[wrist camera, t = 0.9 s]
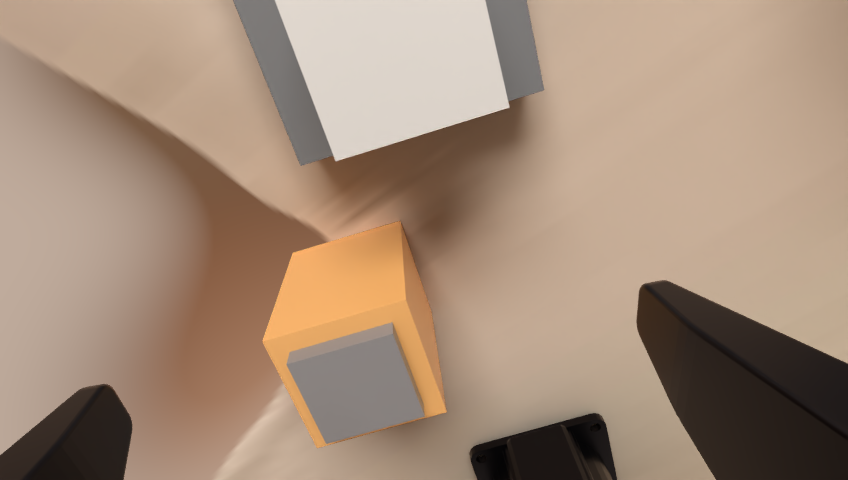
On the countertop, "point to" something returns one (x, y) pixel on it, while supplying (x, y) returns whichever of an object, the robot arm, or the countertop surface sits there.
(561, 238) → the countertop surface
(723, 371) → the robot arm
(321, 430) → the plug
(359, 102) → the grey tray
